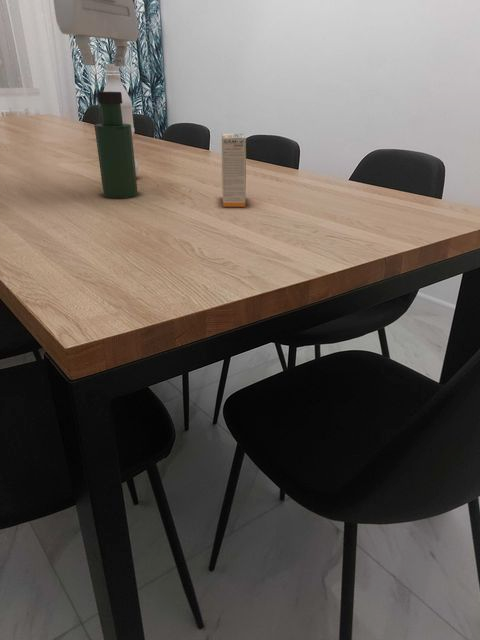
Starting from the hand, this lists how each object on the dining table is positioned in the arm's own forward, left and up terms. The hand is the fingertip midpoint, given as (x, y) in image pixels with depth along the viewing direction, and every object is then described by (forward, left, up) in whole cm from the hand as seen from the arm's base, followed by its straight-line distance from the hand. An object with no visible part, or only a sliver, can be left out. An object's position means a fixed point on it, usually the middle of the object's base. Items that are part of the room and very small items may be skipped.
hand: (105, 65), depth 97 cm
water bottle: (+9, +17, -25) cm, 31 cm away
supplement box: (+16, -20, -25) cm, 36 cm away
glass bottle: (0, 0, -25) cm, 25 cm away
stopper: (0, 0, -10) cm, 10 cm away
